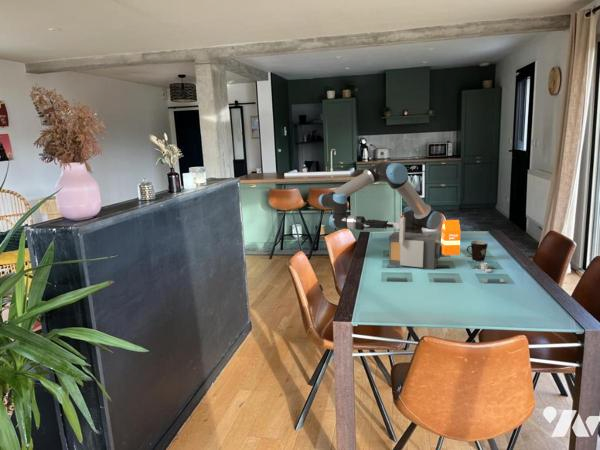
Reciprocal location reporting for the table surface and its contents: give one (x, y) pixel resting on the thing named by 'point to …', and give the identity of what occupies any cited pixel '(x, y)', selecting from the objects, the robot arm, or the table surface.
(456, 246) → the orange juice
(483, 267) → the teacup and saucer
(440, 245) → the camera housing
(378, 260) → the table surface
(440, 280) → the table surface
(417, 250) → the side door
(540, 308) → the table surface
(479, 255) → the coffee mug
